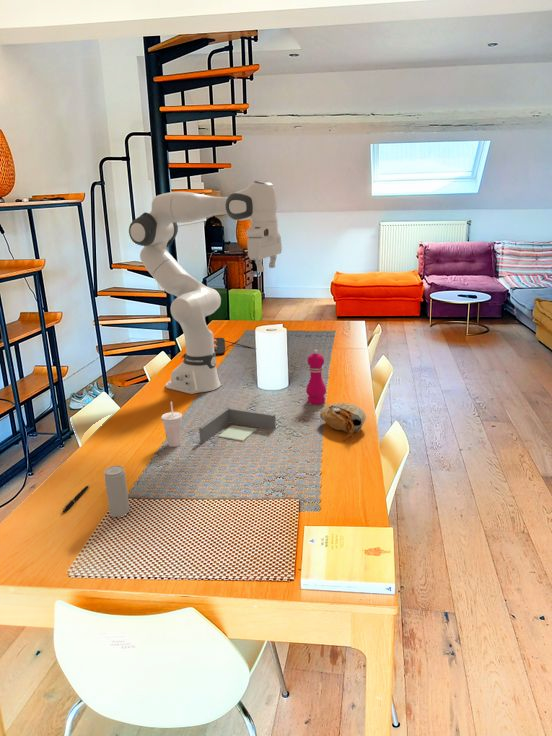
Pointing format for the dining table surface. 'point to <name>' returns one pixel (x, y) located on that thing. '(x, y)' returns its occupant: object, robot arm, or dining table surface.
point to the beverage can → (116, 491)
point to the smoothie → (172, 427)
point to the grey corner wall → (238, 418)
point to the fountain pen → (74, 499)
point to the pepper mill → (316, 379)
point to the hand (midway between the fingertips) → (266, 269)
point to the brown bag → (344, 417)
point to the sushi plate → (223, 345)
